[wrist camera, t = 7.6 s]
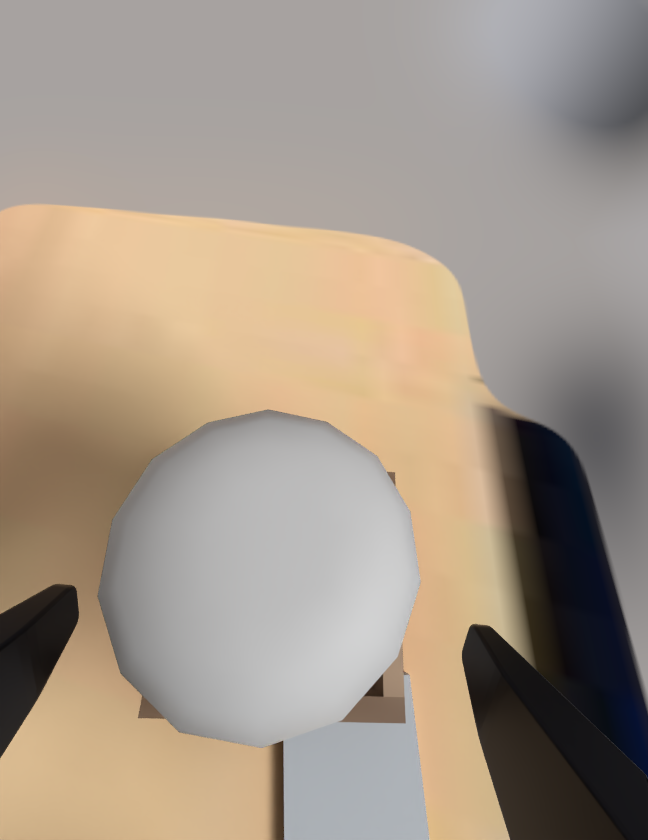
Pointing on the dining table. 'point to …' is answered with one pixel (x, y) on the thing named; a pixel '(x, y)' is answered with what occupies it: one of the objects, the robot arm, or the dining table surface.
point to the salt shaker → (259, 578)
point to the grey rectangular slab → (355, 781)
